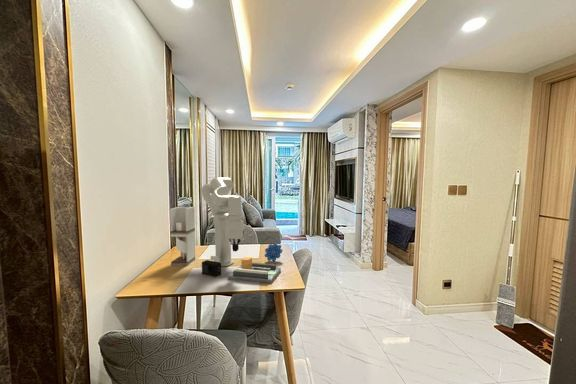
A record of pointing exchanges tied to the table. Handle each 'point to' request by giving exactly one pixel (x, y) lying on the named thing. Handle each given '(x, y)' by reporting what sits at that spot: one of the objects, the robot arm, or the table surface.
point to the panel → (271, 276)
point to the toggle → (247, 263)
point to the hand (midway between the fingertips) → (235, 250)
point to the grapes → (273, 252)
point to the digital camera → (211, 268)
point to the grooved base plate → (255, 271)
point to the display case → (183, 233)
